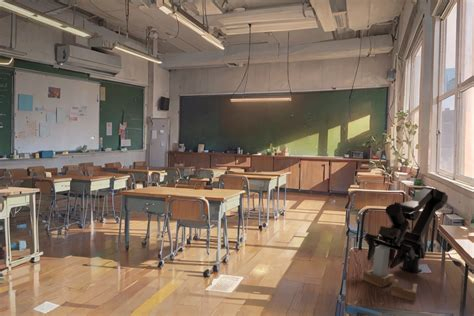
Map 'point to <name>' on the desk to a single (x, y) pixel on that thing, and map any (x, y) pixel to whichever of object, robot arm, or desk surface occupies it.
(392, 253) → the coffee mug
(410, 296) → the end cap
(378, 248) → the slat
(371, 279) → the end cap
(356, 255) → the desk surface
